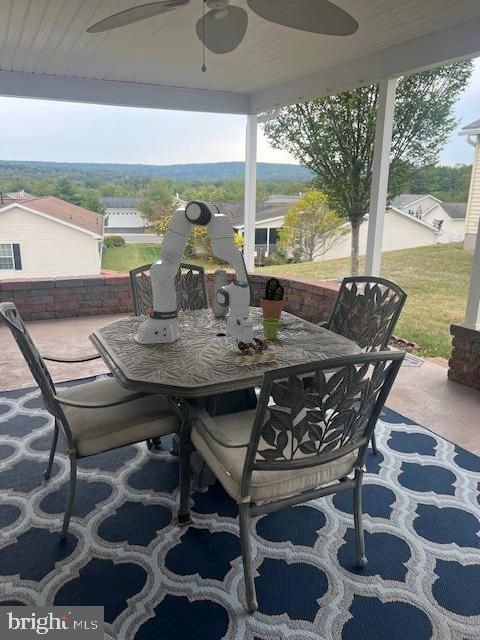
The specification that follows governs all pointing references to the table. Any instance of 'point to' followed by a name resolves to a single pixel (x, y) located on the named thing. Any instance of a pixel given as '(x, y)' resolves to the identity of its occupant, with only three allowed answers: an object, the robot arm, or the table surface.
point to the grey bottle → (219, 281)
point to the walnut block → (264, 340)
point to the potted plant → (272, 300)
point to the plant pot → (270, 328)
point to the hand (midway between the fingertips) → (238, 347)
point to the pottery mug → (246, 346)
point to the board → (255, 358)
